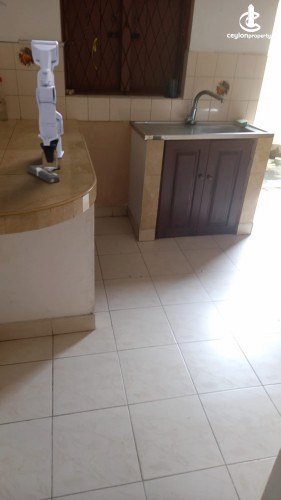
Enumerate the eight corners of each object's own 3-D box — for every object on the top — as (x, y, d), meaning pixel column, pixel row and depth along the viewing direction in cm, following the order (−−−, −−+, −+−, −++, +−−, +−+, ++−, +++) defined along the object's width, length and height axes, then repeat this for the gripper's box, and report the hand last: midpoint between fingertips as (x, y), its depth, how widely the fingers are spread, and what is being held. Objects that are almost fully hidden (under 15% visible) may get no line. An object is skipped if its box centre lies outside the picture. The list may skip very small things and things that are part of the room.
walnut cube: (45, 162, 136) (44, 149, 133) (58, 163, 136) (57, 150, 134) (43, 166, 132) (41, 153, 129) (56, 167, 132) (55, 153, 130)
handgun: (52, 160, 143) (25, 165, 136) (78, 171, 132) (50, 177, 125) (53, 166, 144) (26, 171, 137) (78, 178, 133) (50, 184, 126)
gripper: (40, 118, 132) (43, 154, 139) (33, 126, 120) (36, 165, 127) (59, 119, 133) (61, 155, 140) (54, 127, 120) (56, 166, 127)
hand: (51, 160), depth 133 cm, fingers closed on walnut cube, 5 cm apart
